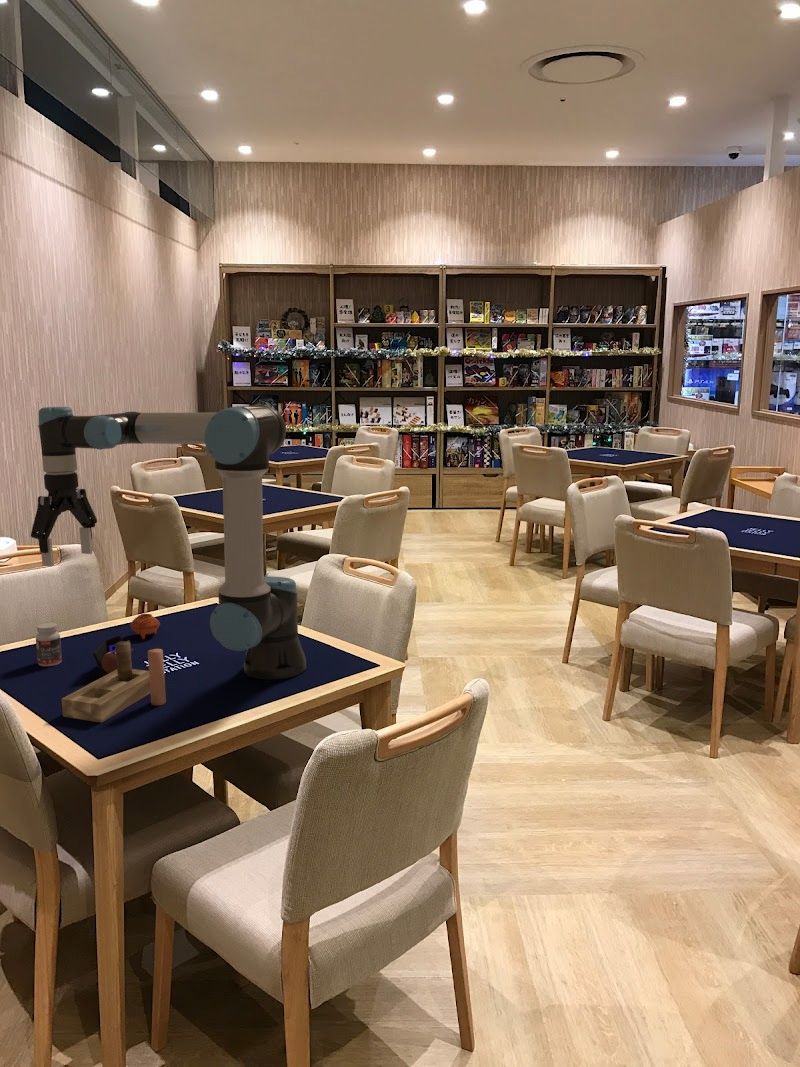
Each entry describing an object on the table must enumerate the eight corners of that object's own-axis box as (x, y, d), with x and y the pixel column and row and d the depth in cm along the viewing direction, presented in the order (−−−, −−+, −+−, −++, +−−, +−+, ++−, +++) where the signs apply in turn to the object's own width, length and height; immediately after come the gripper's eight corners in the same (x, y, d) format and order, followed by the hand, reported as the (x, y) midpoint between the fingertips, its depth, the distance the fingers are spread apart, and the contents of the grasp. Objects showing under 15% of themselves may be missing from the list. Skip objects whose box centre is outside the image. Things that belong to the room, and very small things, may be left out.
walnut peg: (136, 692, 196) (133, 642, 194) (127, 697, 193) (124, 646, 191) (124, 690, 197) (121, 640, 195) (116, 695, 195) (112, 645, 192)
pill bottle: (42, 668, 212) (38, 630, 210) (34, 662, 216) (31, 624, 214) (65, 663, 215) (62, 625, 213) (58, 657, 220) (54, 620, 218)
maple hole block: (157, 688, 198) (156, 672, 198) (101, 722, 180) (100, 704, 179) (121, 683, 202) (120, 667, 201) (63, 716, 183) (61, 698, 182)
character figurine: (137, 660, 218) (120, 683, 203) (108, 659, 218) (89, 681, 203) (137, 631, 216) (120, 651, 202) (108, 629, 216) (88, 650, 201)
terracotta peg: (168, 700, 191) (165, 649, 189) (160, 706, 188) (157, 654, 186) (156, 698, 192) (153, 648, 190) (148, 704, 189) (144, 652, 187)
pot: (123, 638, 234) (124, 613, 234) (141, 636, 241) (143, 612, 241) (146, 640, 231) (148, 615, 231) (165, 639, 238) (166, 614, 238)
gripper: (82, 465, 216) (89, 547, 220) (8, 478, 193) (17, 570, 197) (107, 466, 214) (114, 549, 218) (34, 480, 191) (43, 572, 195)
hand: (68, 559), depth 208 cm, fingers open, 13 cm apart
